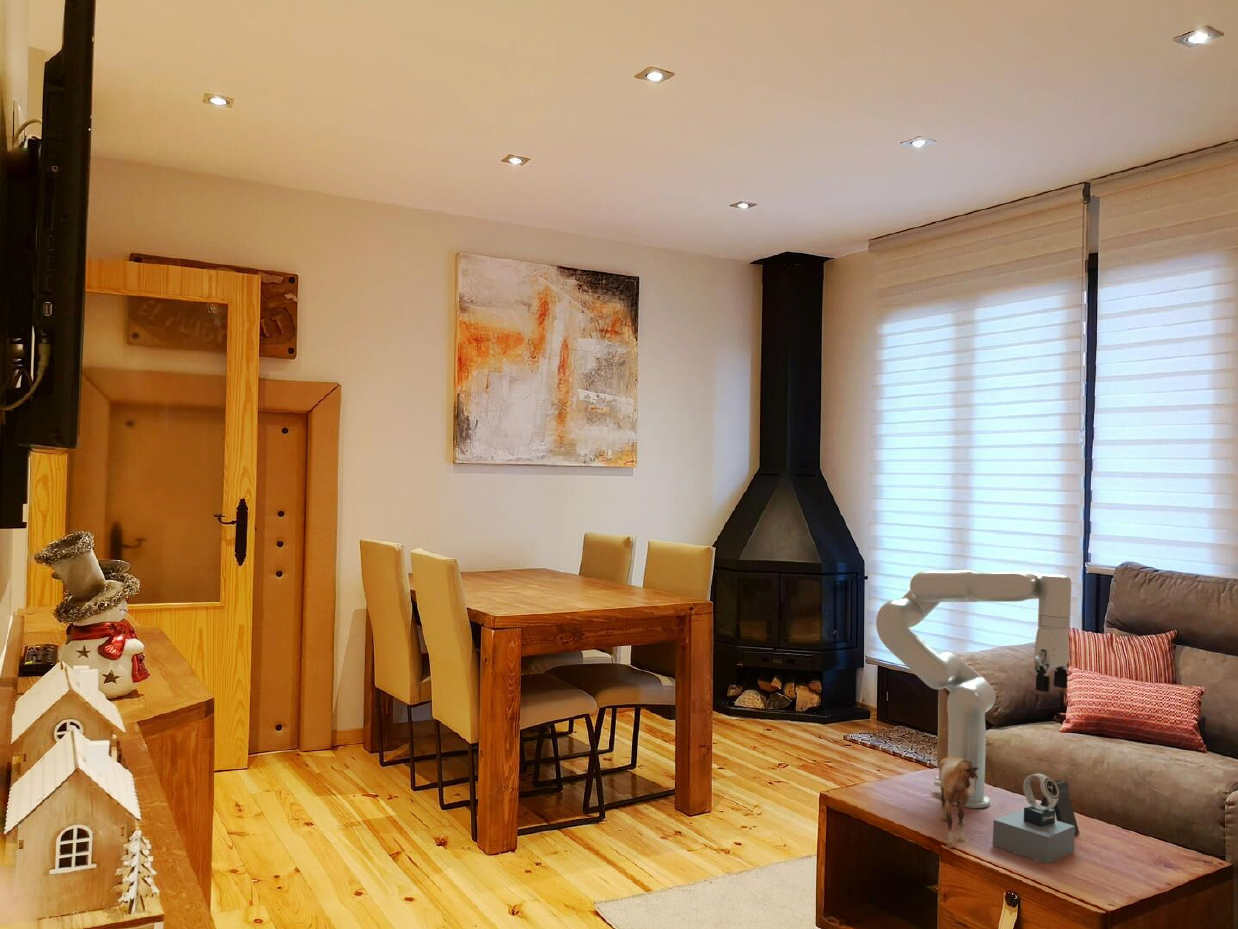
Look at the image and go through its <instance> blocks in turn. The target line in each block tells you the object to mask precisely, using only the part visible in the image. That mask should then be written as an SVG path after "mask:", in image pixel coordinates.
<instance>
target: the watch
mask: <svg viewBox="0 0 1238 929" xmlns="http://www.w3.org/2000/svg"><path fill="white" fill-rule="evenodd" d="M1034 777H1037V778H1038V780H1039V783H1040V790H1041V793H1042V795H1043V797H1044V796H1045V797H1046V798H1047V800H1048V803H1050V804H1049V805H1048V807H1045V806H1042V805H1040V804H1038V802H1036V797H1035V795H1034V793H1033V790H1032V787H1031V780H1032V779H1033V778H1034ZM1055 781H1056V780H1054V779H1053V778H1051V777H1049V776H1048V775H1046V774H1043V773H1034V774H1029V775H1028V776H1026V777H1025V778H1024V781H1023V783H1022V784H1023V785H1022V786H1023V787H1022V790H1023V793H1024V794H1023V795H1024V797H1025V799H1026V801H1027V803H1028V804H1029V805H1030V806H1026V807H1023V811H1024V821H1026V822H1028V823H1031V824H1034V825H1037V826H1039V827H1042V826H1046V825H1050V824H1054V823H1055V820H1056V814H1055V810H1054V809H1051V808H1053V807H1054V806H1055V805H1056V804H1057V801H1058V798H1059V795H1060V792H1059V788H1058V786H1057V784H1056V783H1055Z"/></svg>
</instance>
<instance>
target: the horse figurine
mask: <svg viewBox="0 0 1238 929" xmlns="http://www.w3.org/2000/svg"><path fill="white" fill-rule="evenodd" d="M977 769H978V767H973V766H972V762H970V761H968V760H963V759H961V758H957V757H948V756H947V757H945V758H942V759H941V760H940V763H939V773H938V775H939V776H938V777H939V780H940V783H941V787H940V792H942V793H941V798H942V799H941V798H940V799H941V813H940V818H941V820H942V821H946V823H947V838H948V839H947V840H946V847H947V848H948V849H952V848H954V841H953V831H952V829H953V822H954V820H953V817H952V816H953V804H954V803H956V802H957V805H956V807H957V818H958V820H957V826H958V827H957V830H958V841H959V842H960V843H965V842H966V840H965V836H964V833H963V832H964V830H963V828H964V825H965V824H964V816H965V814H964V810H965V808H966V807H965V805H966V804H967V801H968V798H969V796H973V795H974V794H975V793H976V792H975V788H974V785H975V782H976V779H977V778H978V776H977V775H976V773H975V771H976V770H977Z"/></svg>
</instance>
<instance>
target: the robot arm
mask: <svg viewBox="0 0 1238 929" xmlns="http://www.w3.org/2000/svg"><path fill="white" fill-rule="evenodd" d="M909 583H910V584H909V591H908V592H907V593H905V594H904V595H903V596H902V597H901V598H897V599H893V600H889V601H887V602H885V603H884V604H883V605H882V606H881V607H880V608H879V610H878V611H877V615H876V618H875V619H876V620H875V621H876V622H875V623H876V625H875V626H876V631H877V632H876V633H877V634H878V638H879V639H880V641H881V642H882V644H883V645H884V646H885V647H886V648H887V650H889V651H890V652H891V654H893V655H894V656H895V657H897V659H898V660H900V661H901V662H902V663H903V664H904V666H906V667H907V669H909V670H910V671H911V672H912V673H913V674H914V675H916V676H917V677H918V678H919V679H920V680H921V681H922V682H923V683H924V684H925V685H927V686H928V687H929V688H931V689H933V690H943V689H946V690H947V691H948V692H949V694H948V697H947V702H946V707H947V709H946V710H947V721H948V723H947V725H948V727H947V728H948V730H947V731H948V733H947V734H948V735H947V757H957V758H961V759H963V760H968V761H970V762H972V766H973V767H978V769H977V770H976V771H975V773H976V775H977V776H978V778H977V779H976V782H975V785H974V788H975V792H976V793H975V794H974V795H973V796H969V798H968V801H967V804H966V805H965V807H964V808H969V809H982V808H987V807H989V805H990V804H991V803H990V802H991V800H990V798H989V797H987V795H985V779H986V778H985V776H986V774H985V772H986V771H985V770H986V752H987V751H986V749H987V746H986V743H987V742H986V740H987V728H986V713H987V712H989V711H990V710H991V709H992V708H993V707H994V705H995V703H996V698H997V697H996V692H995V689H994V688H993V686H992V685H991V683H990V682H989V681H988V680H986V679H985V677H983V676H982V675H981V674H979V673H978V672H977V671H976V670H975V669H974V668H973V667H972V666H970V665H969V664H968V663H967V662H966V661H965V660H963V659H962V658H961V657H959V656H958V655H957V654H955V653H952V652H949V651H939V652H938V651H937V650H936V649H934V648H933V647H931V646H930V645H929V644H928V643H927V642H926V641H925V640H924V639H922V638H921V637H920V636H918V635H917V634H915V633H914V632H913V631H911V629H910V628H912V627H915V626H916V625H918V624H920V622H922V621H923V620H924V619H925V618H926V617H927V616H928V615H930V613H931V612H932V611H933V610H934V609H935V608H936V607H937V606H938V605H939V604H940V603H950V602H951V603H953V602H954V603H978V602H980V603H981V602H983V603H984V602H987V603H988V602H994V603H995V602H996V603H997V602H1002V603H1003V602H1005V603H1006V602H1007V603H1008V602H1010V603H1012V602H1013V603H1014V602H1015V603H1017V602H1024V601H1028V600H1038V613H1037V615H1038V617H1037V631H1036V636H1035V645H1034V655H1033V664H1034V669H1035V675H1036V676H1035V690H1036V691H1038V692H1045V693H1048V692H1050V679H1051V677H1050V676H1049V674H1050V672H1051V670H1052V669H1055V670H1054V671H1053V674H1054V675H1053V676H1054V677H1053V686H1054V687H1056V688H1062V689H1067V688H1068V673H1069V666H1070V659H1071V654H1070V635H1069V631H1070V630H1071V608H1072V606H1071V605H1072V603H1071V602H1072V580H1071V578H1070V577H1069V576H1068V575H1063V574H1055V573H1054V574H1053V573H1040V572H1039V573H1038V572H1035V571H1031V570H1030V571H1029V570H1022V571H1015V572H976V571H973V570H969V569H968V570H966V569H965V570H926V571H925V570H924V571H920V572H917V573H916V574H914V575H913V577H912V578H911V579H910V582H909ZM933 784H934V786H936V787H940V788H941V783H940V780H939V776H936V777H935V779H934V783H933ZM941 793H942V792H941V791H940V793H939V798H940V799H941V800H942V798H941ZM953 805H954V806H957V802H956V803H954V804H953ZM953 805H952V806H953Z"/></svg>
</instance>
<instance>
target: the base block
mask: <svg viewBox="0 0 1238 929" xmlns="http://www.w3.org/2000/svg"><path fill="white" fill-rule="evenodd" d="M992 825H993V828H992V846H993V847H995V846H997V847H996V848H998V847H999V848H998V849H1001V848H1002V850H1006V851H1008V852H1010V853H1013V852H1016V853H1019V854H1021V855H1020V856H1022V855H1024V856H1023V857H1025V856H1026V857H1025V858H1028V857H1029V858H1028V859H1030V860H1031V859H1032V860H1034V859H1036V860H1035V861H1037V860H1038V861H1037V862H1040V861H1041V862H1040V863H1043V864H1047V865H1049V864H1050V863H1053V862H1055V861H1057V860H1059V859H1060V860H1061V859H1062V858H1063V857H1066V856H1068V855H1070V854H1073V853H1075V835H1074V833H1075V826H1073V825H1070V824H1066V823H1063V822H1060V821H1057V819H1055V823H1054V824H1050V825H1046V826H1042V827H1039V826H1037V825H1034V824H1031V823H1028V822H1026V821H1024V809H1023V810H1022V809H1019V810H1016V811H1013V812H1012V813H1008V814H1005V815H1003V816H1000V817H997V818H994V819H993V823H992ZM1072 852H1073V853H1072ZM1016 853H1015V854H1016ZM1019 854H1018V855H1019ZM1056 859H1057V860H1056Z"/></svg>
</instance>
